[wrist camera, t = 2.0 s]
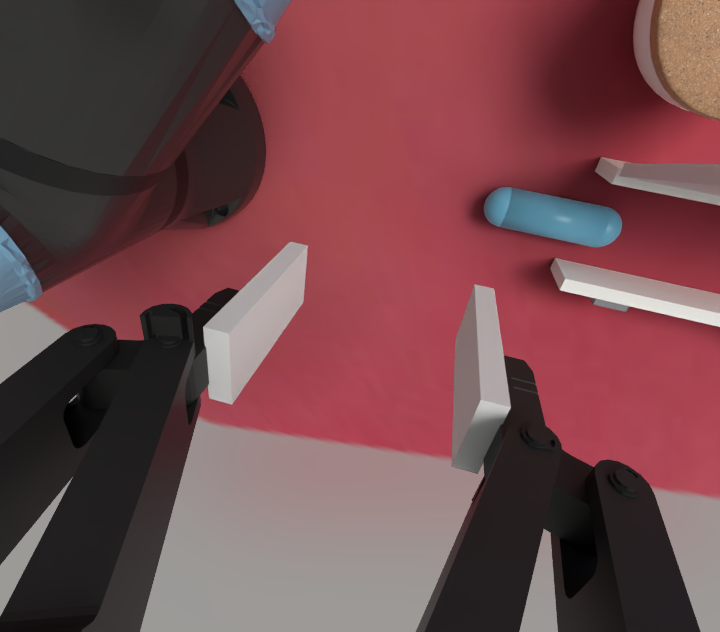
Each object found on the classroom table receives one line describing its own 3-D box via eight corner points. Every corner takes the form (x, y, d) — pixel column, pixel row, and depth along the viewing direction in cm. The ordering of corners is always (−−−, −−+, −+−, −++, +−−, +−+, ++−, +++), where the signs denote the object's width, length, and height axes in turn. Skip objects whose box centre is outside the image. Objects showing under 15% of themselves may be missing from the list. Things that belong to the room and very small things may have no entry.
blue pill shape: (478, 216, 33) (479, 227, 30) (489, 178, 31) (492, 188, 29) (603, 242, 32) (615, 257, 29) (622, 206, 30) (636, 218, 27)
